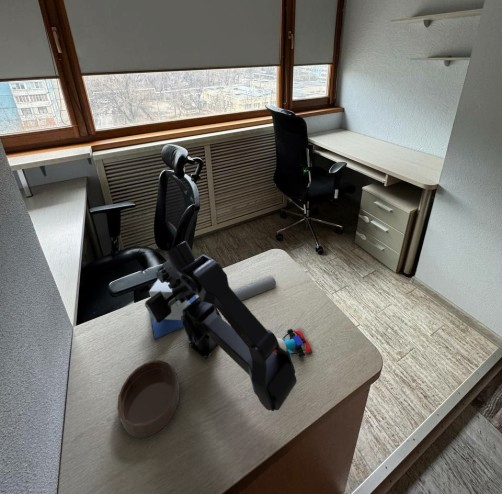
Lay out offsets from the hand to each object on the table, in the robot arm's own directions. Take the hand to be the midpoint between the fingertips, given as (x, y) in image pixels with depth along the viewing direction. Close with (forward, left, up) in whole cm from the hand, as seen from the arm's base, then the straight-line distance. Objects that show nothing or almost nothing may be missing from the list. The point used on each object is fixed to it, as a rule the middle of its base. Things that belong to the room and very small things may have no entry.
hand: (170, 294), depth 80 cm
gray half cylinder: (-15, -19, -8) cm, 26 cm away
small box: (-1, 0, -7) cm, 7 cm away
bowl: (-13, +18, -8) cm, 24 cm away
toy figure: (-33, -9, -8) cm, 35 cm away
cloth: (-1, 0, -8) cm, 8 cm away
